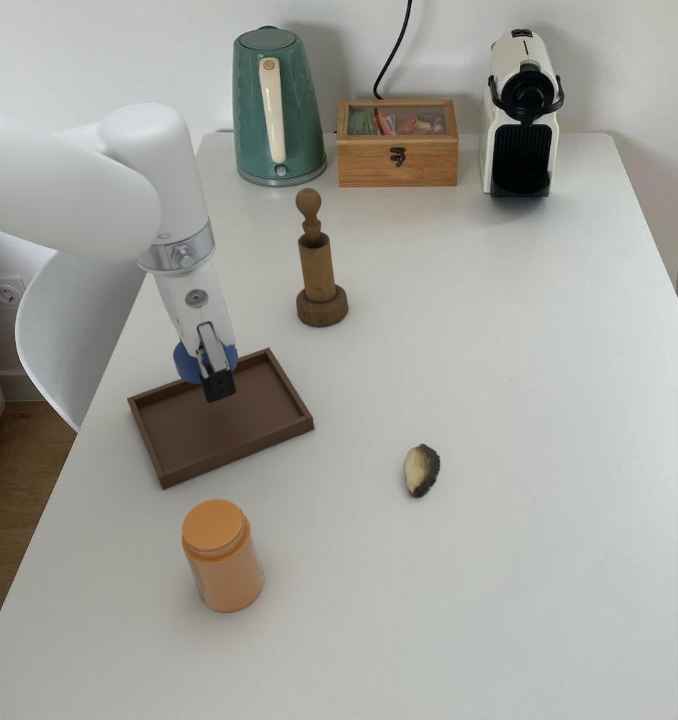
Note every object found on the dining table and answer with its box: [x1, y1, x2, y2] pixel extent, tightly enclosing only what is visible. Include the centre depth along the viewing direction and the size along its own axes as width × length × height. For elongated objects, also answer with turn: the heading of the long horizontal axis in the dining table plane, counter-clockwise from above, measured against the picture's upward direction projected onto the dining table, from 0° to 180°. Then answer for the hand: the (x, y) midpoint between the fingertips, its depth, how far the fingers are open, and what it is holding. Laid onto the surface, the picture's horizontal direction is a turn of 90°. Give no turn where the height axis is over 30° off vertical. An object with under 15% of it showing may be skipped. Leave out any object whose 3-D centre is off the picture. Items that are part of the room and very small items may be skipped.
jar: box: [181, 498, 265, 613], centre depth 73 cm, size 6×6×10 cm
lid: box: [172, 340, 239, 384], centre depth 86 cm, size 6×6×2 cm
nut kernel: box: [403, 443, 441, 498], centre depth 85 cm, size 6×5×3 cm
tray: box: [126, 347, 315, 491], centre depth 92 cm, size 17×13×2 cm
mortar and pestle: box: [295, 187, 349, 327], centre depth 100 cm, size 7×6×18 cm
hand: (210, 375), depth 88 cm, fingers closed on lid, 6 cm apart
